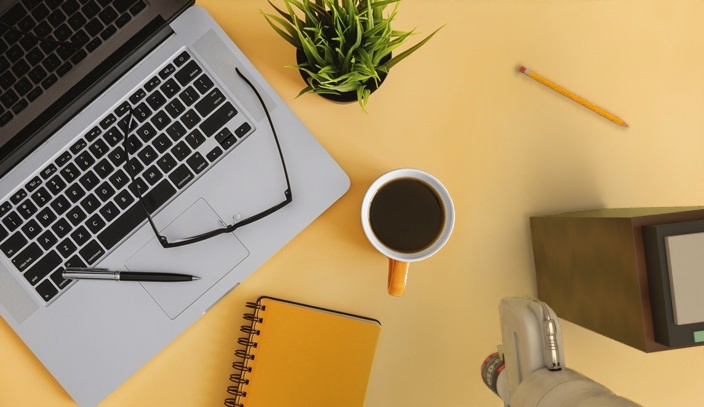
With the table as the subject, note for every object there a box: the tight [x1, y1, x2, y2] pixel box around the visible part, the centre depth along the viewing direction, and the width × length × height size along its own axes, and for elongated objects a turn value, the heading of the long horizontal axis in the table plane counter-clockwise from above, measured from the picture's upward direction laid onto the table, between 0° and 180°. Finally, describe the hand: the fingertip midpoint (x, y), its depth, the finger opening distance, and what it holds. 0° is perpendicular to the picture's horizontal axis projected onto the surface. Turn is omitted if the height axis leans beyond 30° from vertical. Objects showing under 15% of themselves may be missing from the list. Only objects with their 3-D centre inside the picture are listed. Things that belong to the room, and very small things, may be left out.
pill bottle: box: [480, 351, 511, 405], centre depth 62 cm, size 5×5×8 cm
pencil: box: [519, 65, 631, 128], centre depth 83 cm, size 1×19×1 cm, turn 63°
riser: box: [529, 205, 704, 354], centre depth 70 cm, size 14×12×26 cm
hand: (507, 377), depth 63 cm, fingers closed on pill bottle, 5 cm apart
